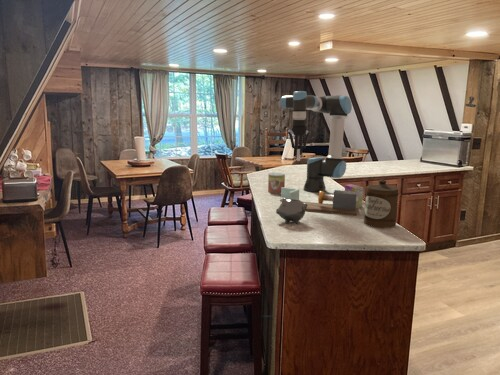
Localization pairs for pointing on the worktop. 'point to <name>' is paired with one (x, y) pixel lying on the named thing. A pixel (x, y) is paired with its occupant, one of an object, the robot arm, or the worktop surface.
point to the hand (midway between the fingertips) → (298, 160)
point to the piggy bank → (291, 210)
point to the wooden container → (381, 205)
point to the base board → (328, 209)
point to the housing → (344, 200)
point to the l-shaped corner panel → (289, 193)
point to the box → (359, 193)
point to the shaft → (327, 197)
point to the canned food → (276, 182)
